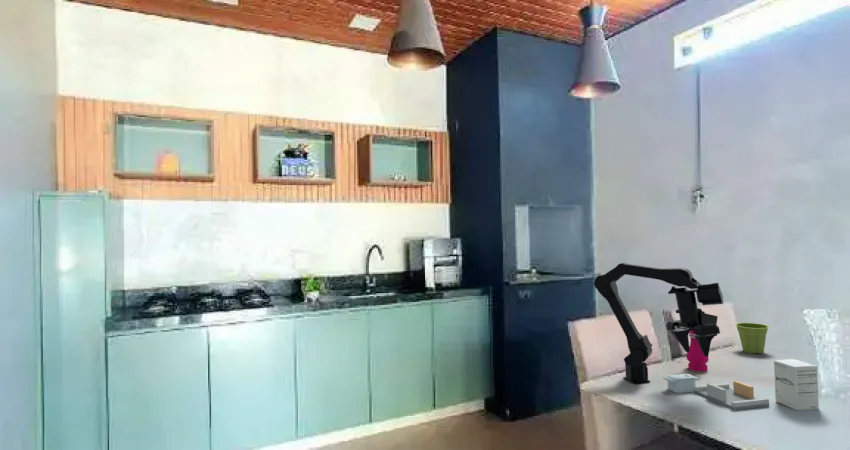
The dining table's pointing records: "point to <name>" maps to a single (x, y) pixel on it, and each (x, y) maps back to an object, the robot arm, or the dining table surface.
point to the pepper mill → (696, 355)
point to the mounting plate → (732, 395)
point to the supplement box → (796, 384)
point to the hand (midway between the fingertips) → (696, 353)
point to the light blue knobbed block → (681, 382)
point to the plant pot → (752, 336)
